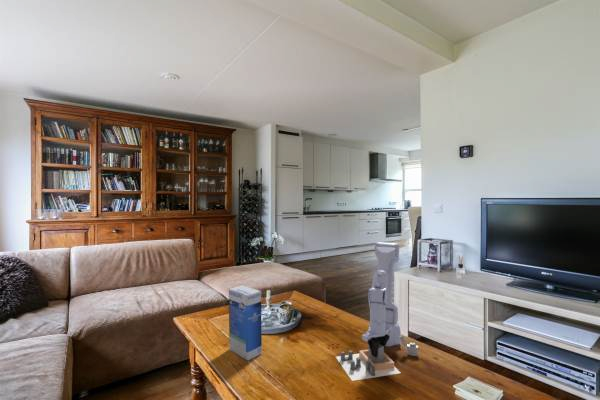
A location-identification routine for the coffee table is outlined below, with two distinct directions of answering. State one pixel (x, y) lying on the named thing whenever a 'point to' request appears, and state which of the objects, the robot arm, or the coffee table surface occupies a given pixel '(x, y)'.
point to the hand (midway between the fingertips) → (377, 354)
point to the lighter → (410, 347)
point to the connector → (377, 354)
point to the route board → (361, 367)
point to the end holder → (378, 366)
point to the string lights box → (245, 322)
